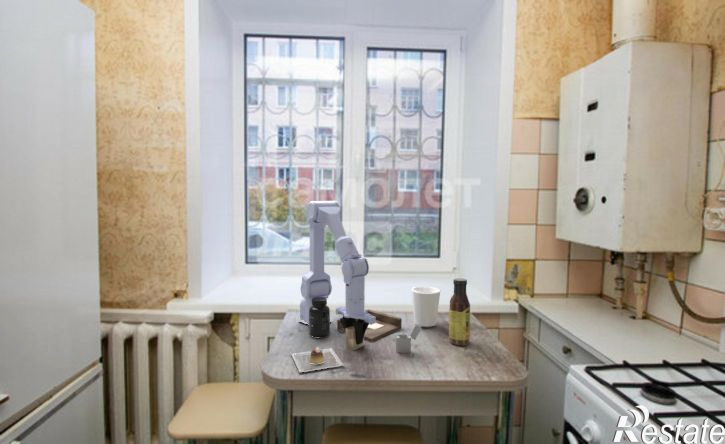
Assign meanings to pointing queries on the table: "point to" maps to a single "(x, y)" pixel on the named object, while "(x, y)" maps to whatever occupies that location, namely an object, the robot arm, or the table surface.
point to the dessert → (318, 358)
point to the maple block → (352, 339)
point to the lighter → (406, 340)
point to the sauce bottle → (459, 314)
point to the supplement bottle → (319, 317)
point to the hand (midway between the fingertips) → (354, 341)
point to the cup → (425, 306)
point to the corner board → (378, 325)
